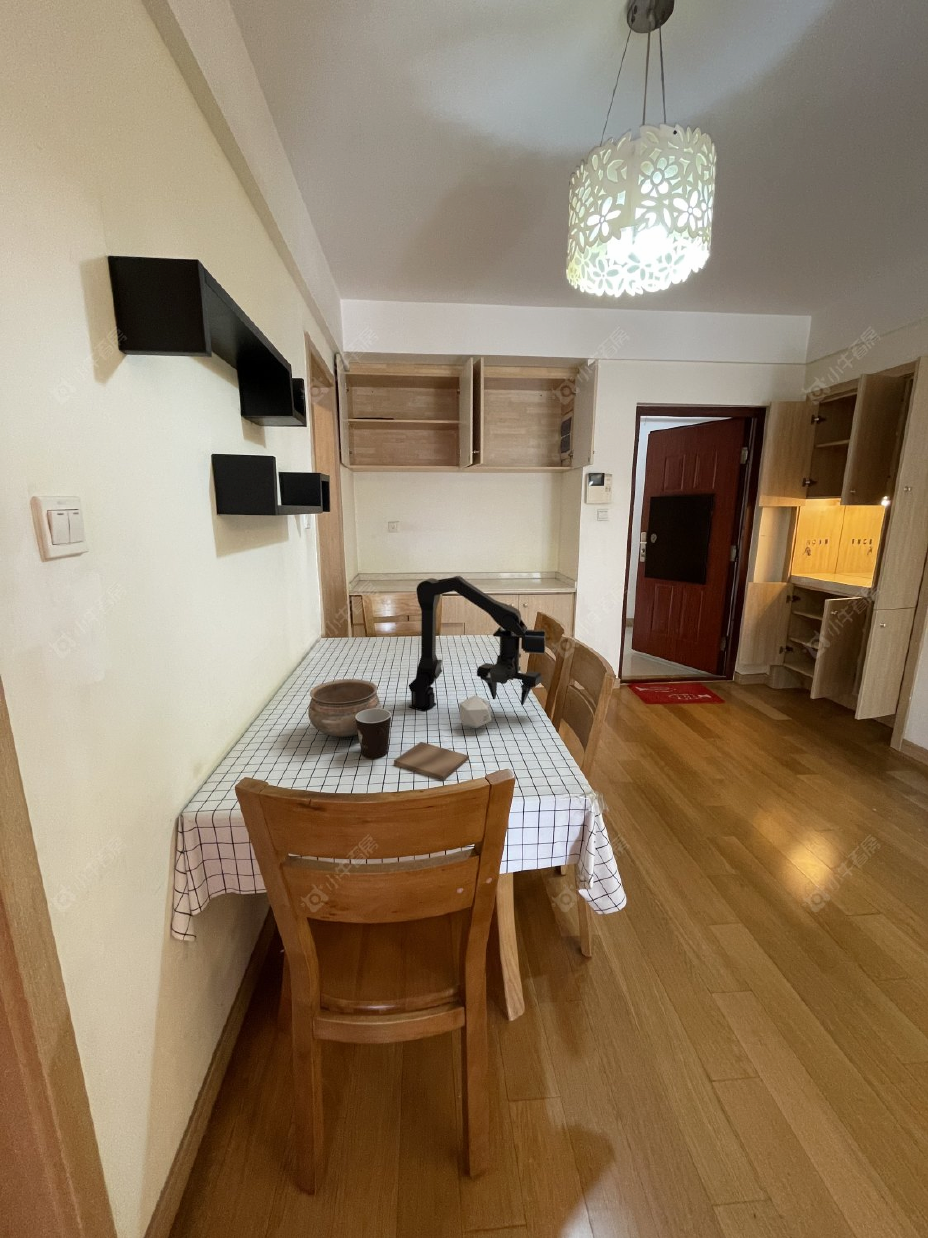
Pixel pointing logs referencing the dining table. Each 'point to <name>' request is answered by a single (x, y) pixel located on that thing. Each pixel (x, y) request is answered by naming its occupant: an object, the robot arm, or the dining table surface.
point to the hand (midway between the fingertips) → (508, 701)
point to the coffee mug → (373, 732)
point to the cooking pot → (341, 705)
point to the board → (431, 761)
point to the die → (475, 712)
